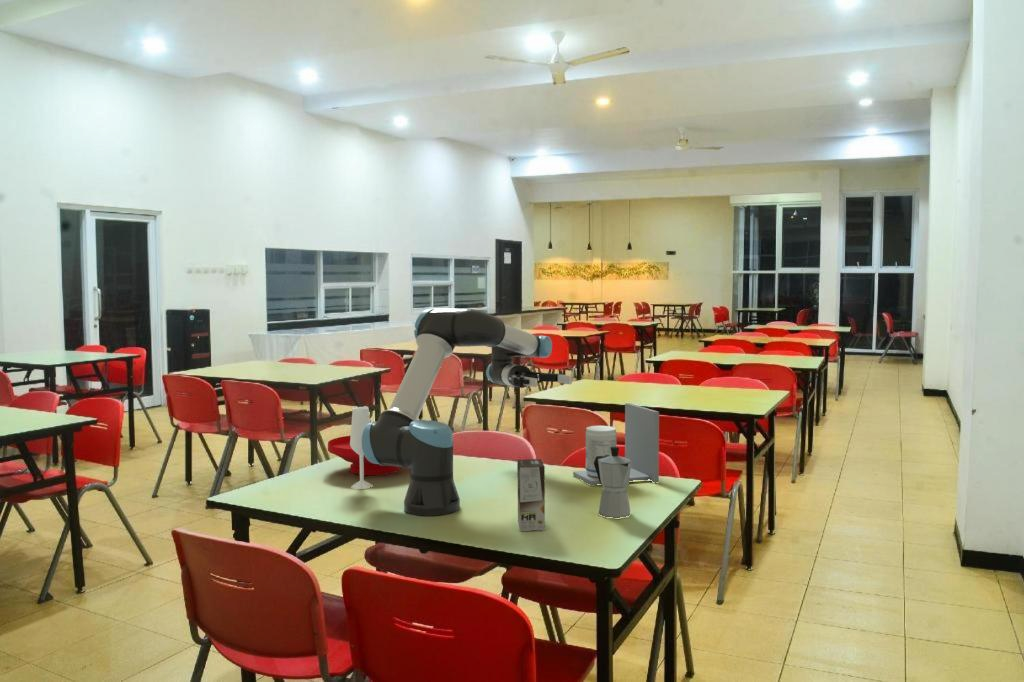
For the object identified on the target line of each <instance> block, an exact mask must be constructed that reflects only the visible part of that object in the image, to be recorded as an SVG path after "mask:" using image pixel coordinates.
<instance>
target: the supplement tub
mask: <svg viewBox="0 0 1024 682" xmlns="http://www.w3.org/2000/svg"><path fill="white" fill-rule="evenodd" d="M585 429H586V431H585V471H586V473H587V474H588V475H590V476H593V477H598V475H597V472H596V469H595V466H594V461H595V458H596V457H597V456H605V455H610V456H612V454H611V448H610V447H617V428H616V427H614V426H611V425H610V426H609V425H591V426H587V427H586V428H585Z"/></svg>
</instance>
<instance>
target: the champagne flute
mask: <svg viewBox="0 0 1024 682" xmlns="http://www.w3.org/2000/svg"><path fill="white" fill-rule="evenodd" d="M351 412H352V413H351V427H350V435H351V437H350V446H351V448H352V449H353V450H354V451H355V452H356V453H357V454H359V455H360V474H359V480H358V481H356V482H355V483H354V484H353V485H351V486H350V488H351V489H354V490H367V489H370V487H371V488H373V487H374V485H373V484H372V483H370V482H368V481H366V480H365V475H364V460H363V455H364V453H363V450H362V444H361V439H362V433H363V430H364V428H365V426H366V425H367V424H368V423H371V418H370V409H369V407H367V406H357V407H352V411H351Z"/></svg>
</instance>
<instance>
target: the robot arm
mask: <svg viewBox="0 0 1024 682" xmlns="http://www.w3.org/2000/svg"><path fill="white" fill-rule="evenodd" d="M414 328H415V329H414V331H413V333H414V338H415V343H416V345H417V349H416V350H415V352H414V355H413V357H412V359H411V362H410V364H409V366H408V368H407V370H406V372H405V374H404V377H403V379H402V380H401V383H400V385H399V387H398V389H397V392H396V394H395V395H394V397H393V400H392V402H391V404H390V407H389V408H388V409H384V410H383V411H381V413H380V414H379V417H378V419H377V421H370V423H368V424H367V425H366V426H365V428H364V430H363V433H362V439H361V444H362V450H363V453H364V455H365V457H366V459H367V460H368V461H370V462H371V463H374V464H379V465H382V466H384V465H387V466H396V467H399V468H405V469H406V468H407V469H409V474H410V475H409V484H408V487H407V490H406V494H405V497H404V501H403V509H404V512H407V513H408V514H411V515H416V516H417V515H418V516H441V515H447V514H451V513H455V512H456V511H458V510H460V508H461V499H460V495H459V492H458V490H457V487H456V484H455V480H454V444H455V443H454V442H455V441H454V437H453V436H454V434H453V430H452V428H451V426H449V425H448V424H446V423H444V422H441V421H437V420H436V421H435V420H425V419H420V420H418V419H419V416H420V415H421V412H422V409H423V408H424V406H425V403H426V400H427V398H428V396H429V394H430V393H431V389H432V387H433V385H434V382H435V380H436V378H437V376H438V373H439V371H440V369H441V366H442V364H443V362H444V360H445V359H447V358H449V357H451V356H452V354H453V351H454V349H455V348H456V347H461V348H462V347H487V348H491V362H490V364H488V366H487V367H486V370H485V375H486V378H487V379H488V381H489V382H491V383H494V384H497V385H502V386H508V387H509V386H510V387H511V388H512V389H514V388H520V389H525V388H527V387H532V388H538V384H540V383H542V382H550V383H552V382H555V383H558V384H564V385H572V375H568V374H565V373H562V372H561V371H560V372H559V373H553V372H552V373H551V372H549V373H548V372H542V371H540V372H536V371H533V370H532V371H531V369H530V368H529V367H528V366H526V365H520V364H514V362H513V361H514V360H513V359H514V358H513V357H518V358H519V357H520V358H523V357H524V358H537V359H538V358H539V359H541V358H544V359H545V358H549V357H550V356H551V354H552V352H553V351H552V350H553V341H552V339H551V337H550V336H547V335H536V334H533V333H530V332H527V331H525V330H521V329H520V328H517V327H514V326H511V325H509V324H507V323H505V322H504V320H502V319H501V318H499V317H498V316H495V315H492V314H489V313H486V312H484V311H481V310H478V309H473V308H466V307H465V308H447V307H445V308H440V307H433V308H428V309H425V310H423V311H422V312H420V313H419V315H418V316H417V318H416V321H415V323H414Z"/></svg>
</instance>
